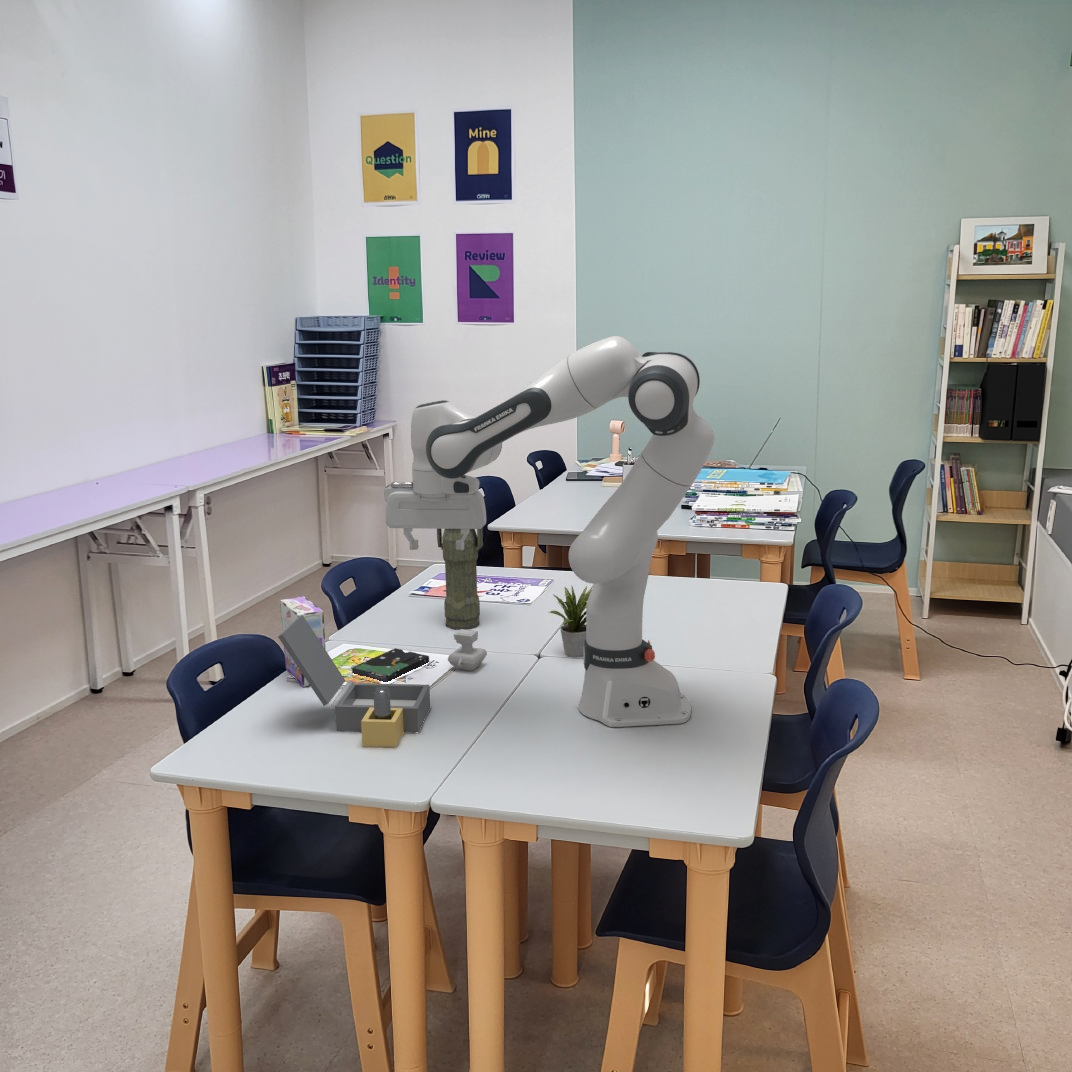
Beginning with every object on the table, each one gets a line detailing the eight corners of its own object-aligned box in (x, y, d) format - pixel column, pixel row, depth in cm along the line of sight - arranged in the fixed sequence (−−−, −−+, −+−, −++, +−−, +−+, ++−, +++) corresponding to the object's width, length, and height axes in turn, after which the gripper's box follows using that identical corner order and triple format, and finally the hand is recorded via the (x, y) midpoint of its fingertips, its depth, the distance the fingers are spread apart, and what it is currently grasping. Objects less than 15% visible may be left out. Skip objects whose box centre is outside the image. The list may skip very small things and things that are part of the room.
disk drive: (395, 659, 230) (351, 678, 218) (394, 647, 230) (350, 666, 217) (430, 667, 225) (387, 687, 213) (429, 655, 224) (387, 675, 212)
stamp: (472, 676, 217) (471, 639, 215) (445, 672, 220) (444, 636, 218) (489, 662, 225) (488, 627, 223) (463, 659, 228) (462, 624, 226)
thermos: (481, 631, 247) (477, 493, 239) (435, 628, 249) (430, 492, 241) (489, 620, 255) (486, 486, 247) (445, 618, 257) (440, 485, 249)
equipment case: (430, 707, 201) (429, 681, 199) (418, 732, 189) (417, 705, 188) (348, 705, 202) (347, 680, 201) (331, 730, 190) (330, 703, 189)
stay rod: (393, 736, 188) (391, 686, 185) (389, 743, 185) (387, 693, 183) (378, 735, 188) (375, 686, 186) (374, 742, 185) (371, 692, 183)
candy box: (329, 683, 214) (324, 610, 211) (302, 688, 212) (297, 615, 208) (309, 663, 226) (305, 594, 222) (284, 668, 223) (279, 598, 220)
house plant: (597, 669, 220) (597, 599, 217) (538, 662, 225) (537, 593, 221) (613, 648, 233) (613, 581, 230) (557, 642, 238) (556, 577, 234)
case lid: (302, 614, 198) (298, 617, 199) (282, 634, 187) (277, 636, 187) (345, 680, 201) (341, 682, 201) (328, 703, 189) (323, 706, 189)
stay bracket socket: (404, 732, 189) (402, 708, 188) (396, 747, 183) (395, 722, 182) (371, 731, 190) (369, 707, 189) (362, 746, 184) (361, 721, 182)
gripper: (379, 484, 196) (383, 552, 199) (482, 485, 194) (484, 553, 197) (387, 479, 202) (390, 545, 205) (486, 479, 200) (488, 546, 203)
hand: (437, 549), depth 201 cm, fingers open, 8 cm apart
